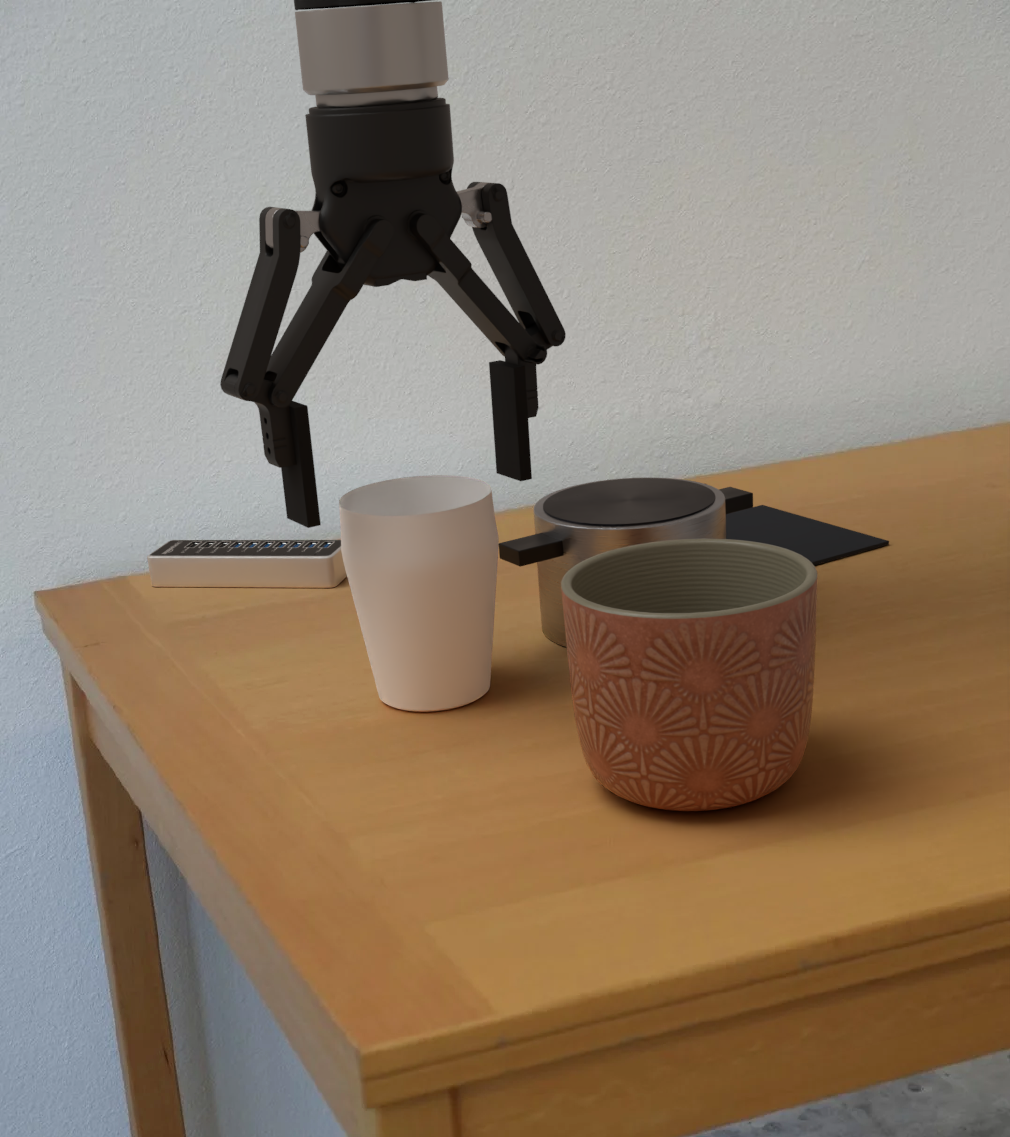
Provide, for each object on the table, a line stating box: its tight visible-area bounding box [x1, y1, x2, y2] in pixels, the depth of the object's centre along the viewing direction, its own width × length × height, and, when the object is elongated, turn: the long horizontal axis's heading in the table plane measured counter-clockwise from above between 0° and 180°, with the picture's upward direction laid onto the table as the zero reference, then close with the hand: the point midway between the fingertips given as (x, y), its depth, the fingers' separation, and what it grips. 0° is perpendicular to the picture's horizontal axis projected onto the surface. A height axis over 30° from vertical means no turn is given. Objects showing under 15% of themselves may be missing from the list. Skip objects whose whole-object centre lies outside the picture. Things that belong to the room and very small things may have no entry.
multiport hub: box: [146, 539, 348, 589], centre depth 125 cm, size 4×14×2 cm, turn 76°
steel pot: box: [498, 477, 754, 648], centre depth 108 cm, size 12×18×8 cm, turn 122°
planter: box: [561, 539, 819, 812], centre depth 85 cm, size 12×12×11 cm
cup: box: [338, 474, 500, 713], centre depth 99 cm, size 9×9×12 cm
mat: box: [726, 504, 890, 566], centre depth 124 cm, size 14×14×1 cm
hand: (412, 499), depth 96 cm, fingers open, 13 cm apart
